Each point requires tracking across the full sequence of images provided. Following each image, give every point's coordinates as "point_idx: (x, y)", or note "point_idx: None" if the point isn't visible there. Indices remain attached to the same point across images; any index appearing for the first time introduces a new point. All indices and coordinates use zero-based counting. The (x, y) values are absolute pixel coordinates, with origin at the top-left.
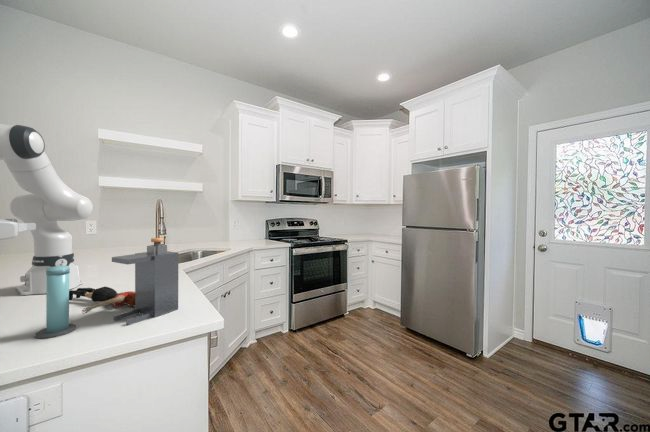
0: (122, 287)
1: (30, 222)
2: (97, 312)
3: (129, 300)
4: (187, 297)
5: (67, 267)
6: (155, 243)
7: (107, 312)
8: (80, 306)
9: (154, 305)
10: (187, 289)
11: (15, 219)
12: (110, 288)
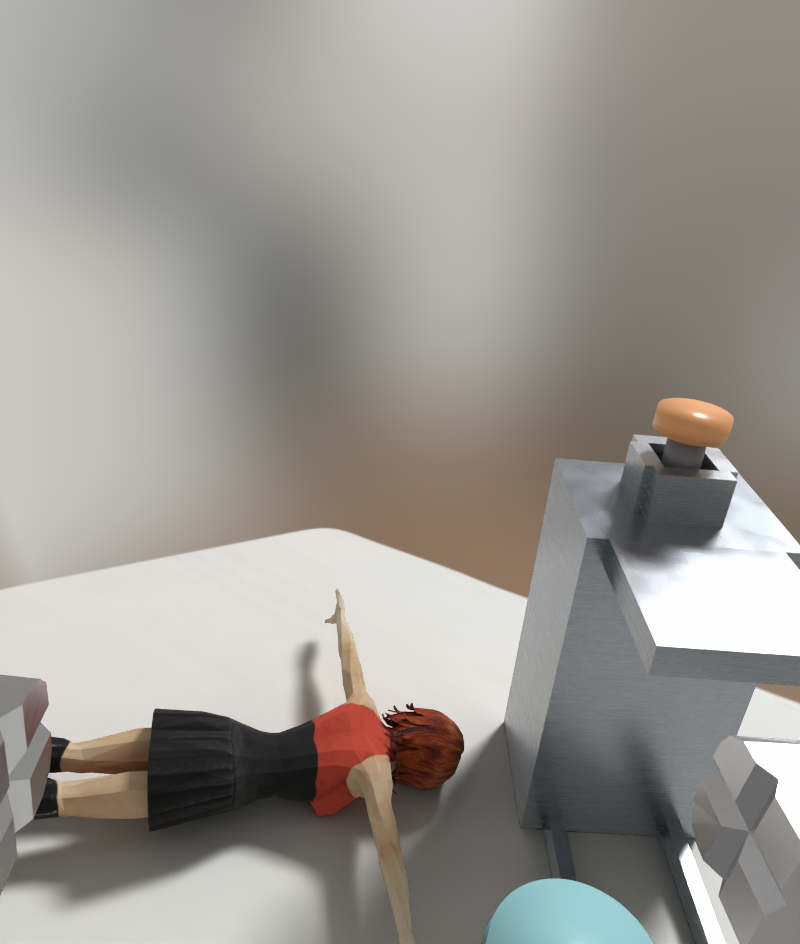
0: (34, 627)
1: (760, 754)
2: (328, 915)
3: (430, 771)
4: (517, 628)
5: (630, 916)
6: (700, 449)
7: (385, 891)
8: (101, 896)
9: None
10: (402, 568)
11: (29, 687)
12: (213, 720)
